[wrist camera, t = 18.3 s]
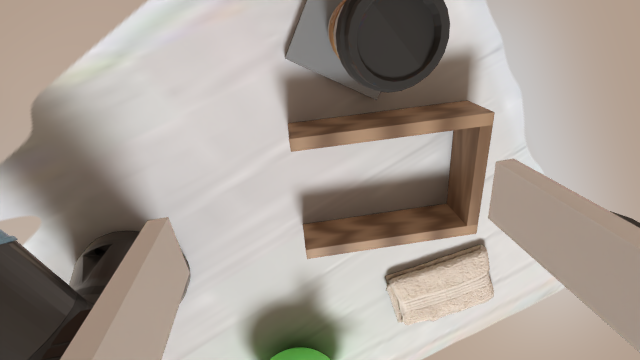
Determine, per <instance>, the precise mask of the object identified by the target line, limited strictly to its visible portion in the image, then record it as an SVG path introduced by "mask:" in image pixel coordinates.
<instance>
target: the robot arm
mask: <svg viewBox="0 0 640 360" xmlns="http://www.w3.org/2000/svg"><path fill="white" fill-rule="evenodd" d="M488 219H490V220H491V221H492V222H493V223H494V224H495V225H496V226H497V227H499V228H500V229H501V230H502V231H503V232H504V233H505V234H507V235H508V236H509V237H510V238H511V239H512V240H513V241H514V242H516V243H517V244H518V245H519V246H520V247H521V248H522V249H523V250H525V251H526V252H527V253H528V254H529V255H530V256H531V257H532V258H534V259H535V260H536V261H537V262H538V263H539V264H540V265H541V266H543V267H544V268H545V269H546V270H547V271H548V272H549V273H550V274H552V275H553V276H554V277H555V278H556V279H557V280H558V281H559V282H561V283H562V284H563V285H564V286H565V287H566V288H567V289H568V290H570V291H571V292H572V293H573V294H574V295H575V296H576V297H577V298H579V299H580V300H581V301H582V302H583V303H584V304H585V305H587V306H588V307H589V308H590V309H591V310H592V311H593V312H594V313H595V314H597V315H598V316H599V317H600V318H601V319H602V320H603V321H604V322H606V323H607V324H608V325H609V326H610V327H611V328H612V329H613V330H615V331H616V332H617V333H618V334H619V335H620V336H621V337H622V338H624V339H625V340H626V341H627V342H628V343H629V344H630V345H632V346H633V347H634V348H635V349H636V350H637V351H639V353H640V223H639V222H637V221H635V220H633V219H631V218H628V217H625V216H623V215H619V214H617V213H614V212H611V211H608V210H606V209H604V208H602V207H601V206H599V205H597V204H595V203H593V202H592V201H590V200H588V199H586V198H584V197H583V196H580V195H579V194H577V193H575V192H573V191H572V190H570V189H568V188H566V187H564V186H562V185H561V184H559V183H557V182H555V181H553V180H552V179H550V178H548V177H546V176H544V175H543V174H541V173H539V172H537V171H535V170H533V169H532V168H530V167H528V166H526V165H524V164H523V163H521V162H519V161H517V160H515V159H509V160H503V161H497V162H496V165H495V172H494V179H493V187H492V194H491V201H490V208H489V215H488ZM16 240H17V238H16V237H14V236H9V235H8V234H6V233H5V232H3V231H2V230H0V360H161V359H162V356H163V353H164V350H165V347H166V344H167V341H168V338H169V334H170V331H171V328H172V325H173V322H174V319H175V316H176V313H177V310H178V307H179V304H180V303H181V301H182V300H183V298H184V296H185V294H186V291H187V288H188V285H189V282H190V269H189V266H188V263H187V261H186V259H185V258H184V256H183V254H182V251H181V249H180V246H179V244H178V241H177V238H176V236H175V233H174V231H173V228H172V226H171V223H170V220H169V218H168V217H166V218H160V219H154V220H148V221H147V222H146V224H145V225H144V227H143V229H142V230H141V232H135V231H122V232H115V233H110V234H107V235H104V236H102V237H100V238H98V239H96V240H95V241H94V242H92V243H91V244H90V245H89V246H88V247H87V249H86V250H85V251H84V252H83V253H82V254H81V256H80V257H79V258H78V260H77V262H76V264H75V266H74V270H73V273H72V277H71V280H70V284H69V285H68V284H67V283H66V282H64V281H63V280H62V279H61V278H60V277H58V276H57V275H56V274H55V273H53V272H52V271H51V270H50V269H49V268H48V267H46V266H45V265H44V264H43V263H42V262H41V261H39V260H38V259H37V258H36V257H35V256H34V255H32V254H31V253H30V252H29V251H28V250H27V249H25V248H24V247H23V246H22V245H21V244H19V243H18V242H17V241H16Z"/></svg>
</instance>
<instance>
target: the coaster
mask: <svg viewBox="0 0 640 360" xmlns="http://www.w3.org/2000/svg"><path fill="white" fill-rule="evenodd" d="M342 1H343V0H307V1H306V4H305V6H304V9H303V12H302V14H301V17H300V20H299V22H298V25H297V27H296V30H295V33H294V35H293V38H292V41H291V43H290V46H289V49H288V51H287V54H286V56H285V59H287V60H290V61H292V62H294V63H296V64H298V65H301V66H303V67H305V68H307V69H309V70H311V71H314V72H316V73H318V74H320V75H322V76H325V77H327V78H329V79H331V80H333V81H336V82H338V83H340V84H342V85H344V86H347V87H349V88H351V89H353V90H355V91H357V92H360V93H362V94H364V95H366V96H368V97H371V98H373V99H375V100H377V98H378V96H379V94H380V92H381V91H375V90H372V89H369V88H367V87H365V86H362V85H360V84H359V83H357V82H356V81H355V80H354V79H353V78H352V77H350V76H349V74H348V73H347V71H346V70H345V68H344V67H343V65H342V64H341V61H340V60H339V58H338V57H337V55H336V54H335V52H334V51H333V49H332V47H331V44H330V41H329V39H328V24H329V20H330V17H331V15H332V13H333V11H334V10H335V9H336V7H337V6H338V5H339V3H341V2H342Z"/></svg>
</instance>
